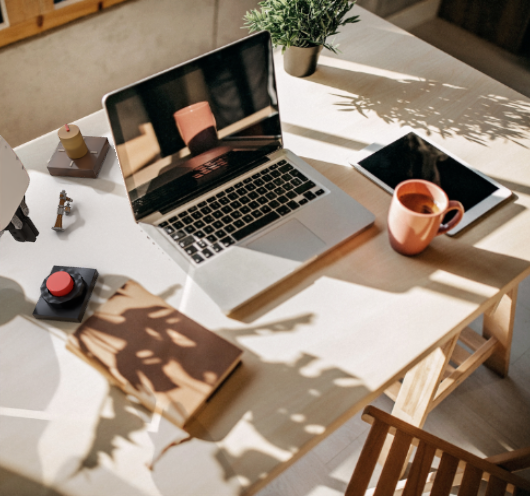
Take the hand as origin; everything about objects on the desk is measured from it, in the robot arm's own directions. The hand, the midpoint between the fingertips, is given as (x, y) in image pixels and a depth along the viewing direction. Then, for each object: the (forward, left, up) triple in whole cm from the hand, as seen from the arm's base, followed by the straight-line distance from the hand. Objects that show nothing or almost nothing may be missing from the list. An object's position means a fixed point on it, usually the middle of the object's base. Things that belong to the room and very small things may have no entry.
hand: (27, 237), depth 73 cm
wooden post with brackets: (-7, +17, -17) cm, 25 cm away
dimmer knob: (-9, +33, -15) cm, 37 cm away
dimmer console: (-9, +33, -17) cm, 38 cm away
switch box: (0, 0, -17) cm, 17 cm away
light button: (0, 0, -14) cm, 14 cm away
